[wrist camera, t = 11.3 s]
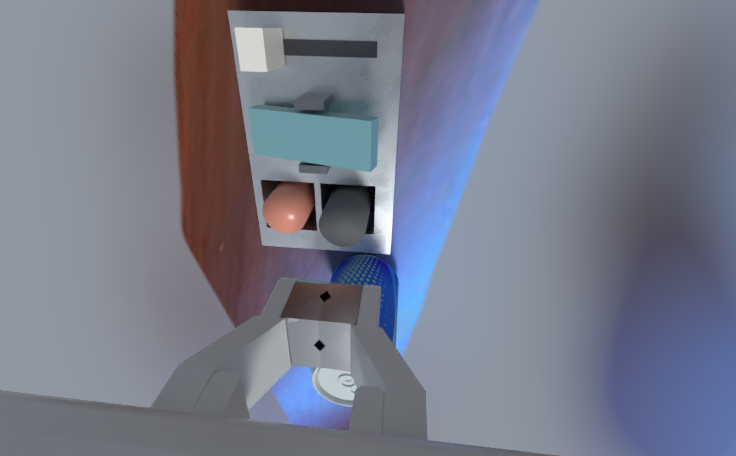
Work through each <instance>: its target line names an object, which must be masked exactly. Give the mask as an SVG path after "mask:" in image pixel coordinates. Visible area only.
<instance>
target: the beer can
mask: <svg viewBox="0 0 736 456" xmlns="http://www.w3.org/2000/svg"><path fill="white" fill-rule="evenodd" d="M330 282H331V283H343V284H356V285H375V286H381V299H380V316H379V327H381V328H383V330H384V331H385V333H386V334H387V336H388V337H389V339H390V340H391V342H392V343H393V344H394V346H395V347H396V331H397V307H398V278H397V275H396V273H395V271H394V270H393V268H392V267H391V266H390V265H389V264H388V263H386V262H385V261H383V260H382V259H380V258H378V257H376V256H372V255H366V254H362V255H356V256H352V257H349V258H346V259H345V260H343V261H342V262H340V263H339V264H338V265H337V267H336V268H335V270H334V272H333V275H332V278H331V281H330ZM310 368H311V371H312V383H313V386H314V388H315V389H316V391H317V392H318V393H319V394H320V395H321V396H322V397H324V398H325V399H327V400H329V401H331V402H333V403H336V404H339V405H343V406H352V407H353V401H354V395H355V390H356V389H357V387H356V385H355V382H354V380H353V378H352V376H351V373H350V371H342V370H334V369H327V368H318V367H310Z"/></svg>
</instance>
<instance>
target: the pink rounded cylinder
mask: <svg viewBox="0 0 736 456" xmlns="http://www.w3.org/2000/svg"><path fill="white" fill-rule="evenodd" d="M314 206H315V188H314V183H307V182H290V181H281V182H280V183H279V184H278V186H277V187H276V188H275V189H274V191H273V192H272V193H271V194H270V195H269V197H268V198H267V199H266V200H265V202H264V204H263V208H262V213H263V216H264V219H265V221H266V222H267V223H268V225H269V226H270V227H272V228H273V229H274V230H276V231H278V232H281V233H295V232H297V231H299V230H300V229H302V228H303V226H304V225H305V223H306V221H307V219H308V217H309V215H310V213H311V211H312V210H313V208H314Z"/></svg>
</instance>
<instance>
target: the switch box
mask: <svg viewBox="0 0 736 456" xmlns="http://www.w3.org/2000/svg"><path fill="white" fill-rule="evenodd" d="M228 17H229V24H230V31H231V37H232V44H233V51H234V57H235V64H236V71H237V78H238V84H239V91H240V98H241V105H242V111H243V118H244V125H245V131H246V138H247V145H248V152H249V158H250V165H251V172H252V179H253V185H254V192H255V199H256V205H257V212H258V219H259V226H260V232H261V239H262V245H266V246H280V247H294V248H308V249H322V250H336V251H350V252H364V253H378V254H390V251H391V239H392V226H393V209H394V193H395V176H396V159H397V143H398V126H399V109H400V93H401V76H402V59H403V43H404V26H405V14H382V13H330V12H278V11H228ZM234 27H276V28H282V34H283V45H284V57H285V66H284V67H281V68H278V69H275V70H272V71H269V72H250V71H240V64H239V57H238V50H237V43H236V36H235V29H234ZM256 105H268V106H278V107H288V108H294V109H298V110H317V111H326V112H336V113H346V114H356V115H365V116H375V117H379V122H378V153H377V166H376V167H375V168H374V169H373V170H372V171H371V172H366V171H359V170H353V169H346V168H339V167H333V166H326V165H320V164H313V163H307V162H300V161H294V160H287V159H281V158H274V157H268V156H261V155H254V148H253V141H252V134H251V126H250V119H249V112H248V108H249V107H253V106H256ZM279 181H290V182H307V183H314V188H315V205H316V209H313V210H312V211H311V213H310V215H309V217H308V219H307V221H306V223H305V225H304V226H303V228H302V229H300V230H299V231H297V232H295V233H281V232H278V231H276V230H274V229H273V228H272V227H270V226H269V225H268V223H267V222H266V221H265V219H264V216H263V213H262V208H263V204H264V202H265V200H266V199H267V198H268V197H269V195H270V194H271V193H272V192H273V191H274V189H275V188H276V187H277V186H278V184H279ZM331 184H343V185H360V186H375V213H372V212H370V214H369V218H368V223H367V228H366V232H365V235H364V237H363V239H362V240H361V241H360V242H358V243H357V244H355V245H353V246H349V247H340V246H336V245H334V244H331V243H330V242H328V241H327V240H326V239H325V238H324V237H323V236H322V234H321V232H320V229H319V219H320V216H321V214H322V212H323V210H324V208H325V206H326V204H327V201H328V199H329V197H330V195H331Z"/></svg>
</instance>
